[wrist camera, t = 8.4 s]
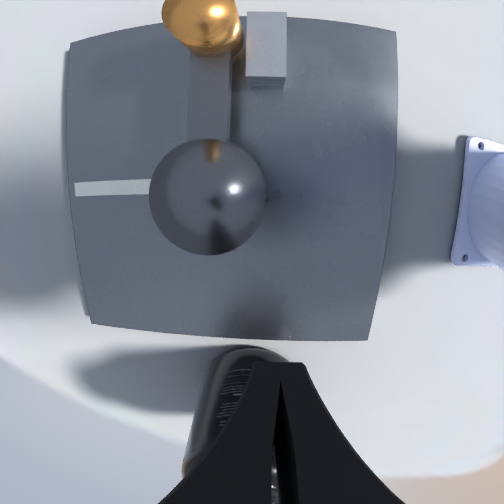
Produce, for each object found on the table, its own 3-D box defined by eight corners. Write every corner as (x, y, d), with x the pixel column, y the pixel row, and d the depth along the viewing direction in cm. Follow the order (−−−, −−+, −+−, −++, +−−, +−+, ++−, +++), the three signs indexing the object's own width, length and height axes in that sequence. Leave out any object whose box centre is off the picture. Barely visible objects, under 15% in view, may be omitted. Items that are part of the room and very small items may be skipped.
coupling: (263, 246, 15) (260, 285, 11) (162, 241, 15) (129, 275, 11) (272, 17, 11) (273, -23, 7) (166, 21, 11) (132, -11, 8)
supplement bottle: (188, 386, 22) (146, 529, 11) (237, 326, 20) (206, 501, 9) (265, 423, 23) (258, 559, 12) (321, 372, 21) (344, 530, 10)
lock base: (389, 36, 13) (418, 14, 10) (363, 331, 20) (379, 370, 16) (78, 46, 14) (40, 33, 10) (97, 316, 20) (70, 348, 17)
